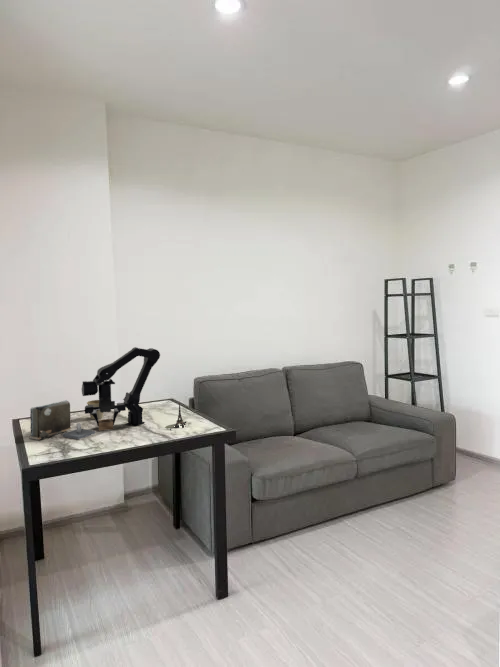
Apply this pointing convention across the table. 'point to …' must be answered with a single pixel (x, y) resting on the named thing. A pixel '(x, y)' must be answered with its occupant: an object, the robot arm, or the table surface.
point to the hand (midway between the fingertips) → (105, 425)
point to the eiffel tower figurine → (177, 421)
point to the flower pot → (95, 404)
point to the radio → (50, 420)
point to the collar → (106, 424)
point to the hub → (78, 433)
